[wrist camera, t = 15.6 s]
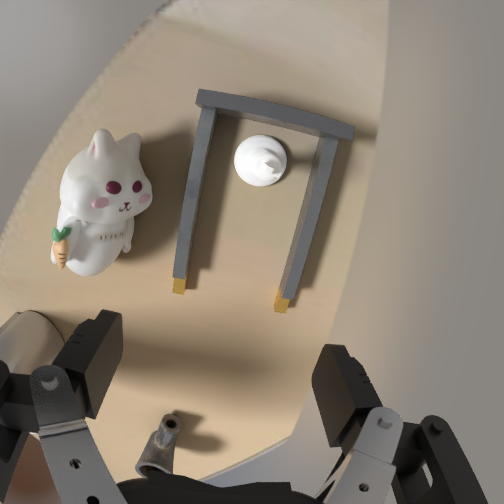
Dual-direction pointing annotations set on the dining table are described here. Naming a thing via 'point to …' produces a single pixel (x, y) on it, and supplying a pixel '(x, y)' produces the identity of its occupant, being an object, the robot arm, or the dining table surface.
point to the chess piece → (260, 160)
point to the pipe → (160, 448)
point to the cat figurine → (100, 204)
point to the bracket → (314, 194)
